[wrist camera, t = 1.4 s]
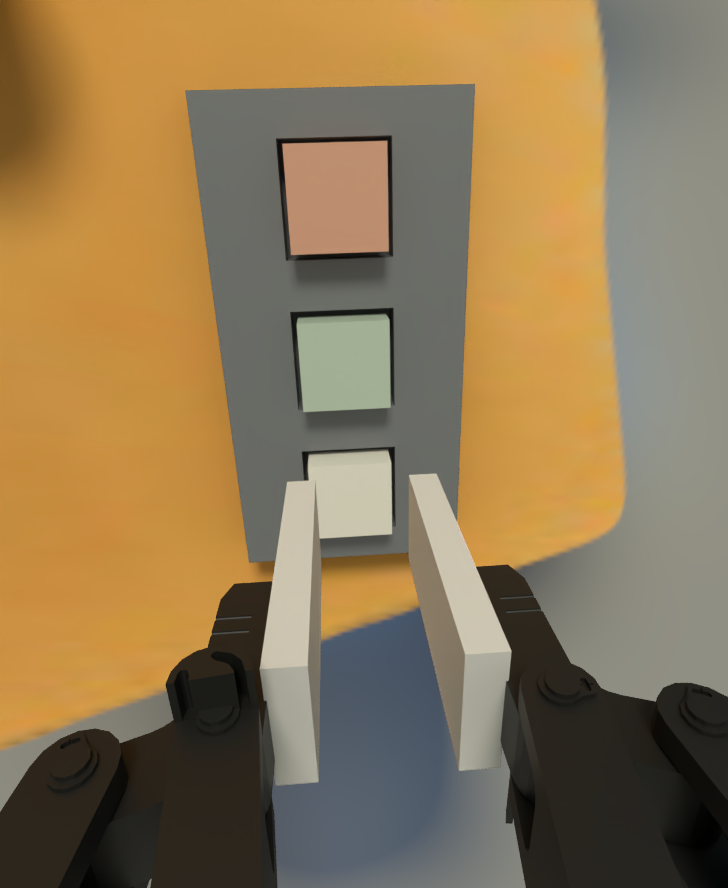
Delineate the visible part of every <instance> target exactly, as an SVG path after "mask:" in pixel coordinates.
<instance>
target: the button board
mask: <svg viewBox="0 0 728 888" xmlns="http://www.w3.org/2000/svg"><path fill="white" fill-rule="evenodd" d="M474 95H475V84H455V85H411V86H366V87H322V88H278V89H234V90H190V91H186V99H187V106H188V113H189V121H190V128H191V136H192V143H193V150H194V158H195V165H196V173H197V180H198V187H199V195H200V202H201V210H202V217H203V224H204V232H205V239H206V247H207V254H208V261H209V269H210V276H211V284H212V291H213V298H214V306H215V313H216V321H217V328H218V335H219V343H220V350H221V358H222V365H223V372H224V380H225V387H226V395H227V402H228V409H229V417H230V424H231V432H232V439H233V446H234V454H235V461H236V469H237V476H238V483H239V491H240V498H241V506H242V513H243V520H244V528H245V535H246V543H247V550H248V557H249V562H265V561H276V555H277V548H278V541H279V534H280V528H281V521H282V514H283V507H284V500H285V493H286V487H287V482H292V481H309V477H308V457H309V453H311V452H330V451H348V450H367V449H386V448H388V452H389V456H390V460H391V483H392V534H387V535H370V536H354V537H337V538H321V539H320V549H321V558H330V557H346V556H362V555H378V554H394V553H409V475H418V474H437V476H438V478H439V481H440V483H441V485H442V488H443V490H444V493H445V495H446V497H447V500H448V502H449V504H450V507H451V509H452V512H453V514H454V516H455V519H456V521H457V505H458V481H459V457H460V433H461V409H462V385H463V360H464V336H465V312H466V288H467V264H468V240H469V216H470V192H471V168H472V144H473V119H474ZM364 141H387V156H388V238H389V251H386V252H359V253H332V254H305V255H291V248H290V235H289V222H288V209H287V197H286V184H285V171H284V159H283V146H282V144H290V143H327V142H364ZM379 313H386V315H387V317H388V318H389V320H390V402H391V408H376V409H356V410H336V411H316V412H303V401H302V388H301V375H300V362H299V350H298V337H297V320H298V317H307V316H331V315H355V314H379Z"/></svg>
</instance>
